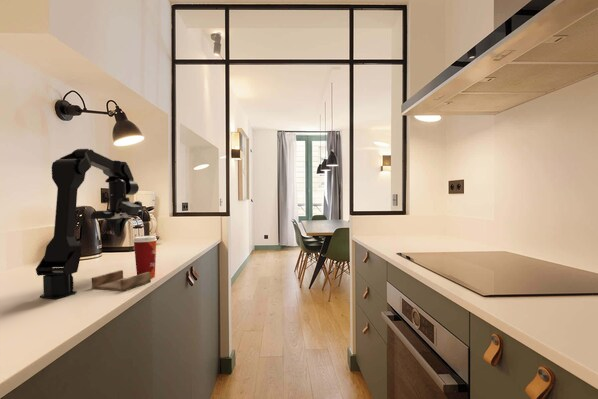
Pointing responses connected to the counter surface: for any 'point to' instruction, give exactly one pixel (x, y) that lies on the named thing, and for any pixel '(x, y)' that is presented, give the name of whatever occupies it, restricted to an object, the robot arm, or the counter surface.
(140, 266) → the paper cup
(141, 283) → the u rest
